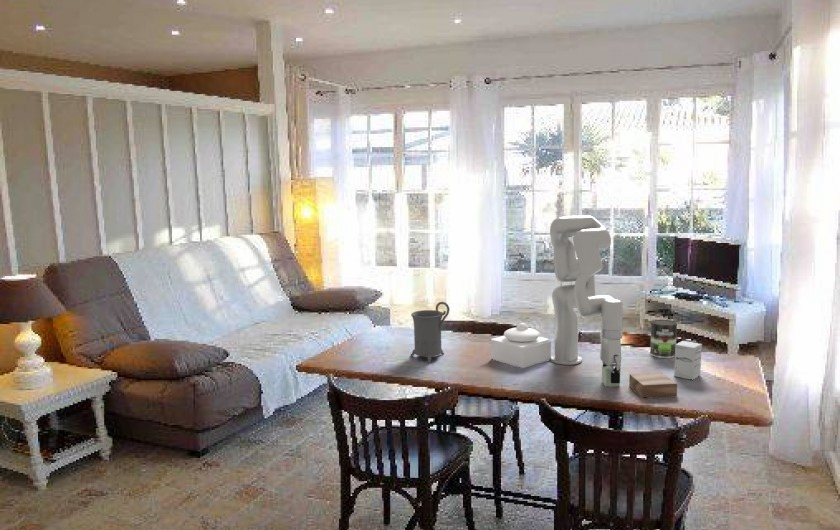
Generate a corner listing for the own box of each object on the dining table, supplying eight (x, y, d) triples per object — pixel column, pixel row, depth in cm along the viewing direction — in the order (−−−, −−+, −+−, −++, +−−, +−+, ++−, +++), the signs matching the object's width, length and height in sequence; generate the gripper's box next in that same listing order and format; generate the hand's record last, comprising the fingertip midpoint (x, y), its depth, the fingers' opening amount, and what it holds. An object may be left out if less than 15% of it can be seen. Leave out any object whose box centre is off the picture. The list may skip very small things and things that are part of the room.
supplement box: (673, 376, 240) (674, 344, 238) (681, 371, 245) (682, 340, 243) (693, 380, 235) (694, 347, 233) (701, 375, 240) (702, 343, 238)
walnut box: (629, 387, 231) (629, 374, 230) (661, 385, 231) (661, 372, 231) (642, 399, 219) (643, 385, 218) (676, 397, 219) (677, 383, 219)
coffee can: (677, 359, 262) (679, 325, 260) (651, 357, 264) (652, 324, 262) (674, 352, 272) (675, 319, 269) (648, 351, 274) (649, 319, 272)
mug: (402, 360, 270) (401, 302, 266) (418, 351, 283) (416, 296, 279) (443, 365, 262) (441, 305, 258) (457, 355, 275) (456, 299, 271)
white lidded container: (522, 369, 255) (522, 330, 252) (490, 359, 268) (490, 322, 266) (551, 360, 266) (551, 322, 263) (518, 351, 279) (518, 316, 277)
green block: (601, 382, 236) (602, 366, 235) (615, 381, 236) (615, 366, 235) (606, 386, 231) (606, 370, 230) (619, 386, 231) (620, 370, 230)
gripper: (594, 327, 239) (594, 372, 242) (608, 339, 222) (608, 386, 225) (614, 327, 239) (613, 371, 242) (630, 338, 222) (629, 386, 225)
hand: (611, 378), depth 233 cm, fingers open, 9 cm apart
